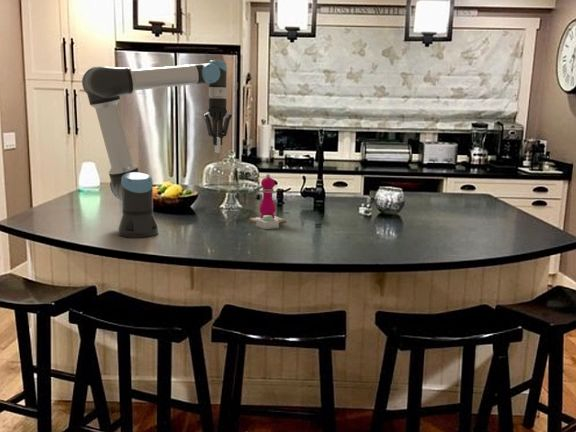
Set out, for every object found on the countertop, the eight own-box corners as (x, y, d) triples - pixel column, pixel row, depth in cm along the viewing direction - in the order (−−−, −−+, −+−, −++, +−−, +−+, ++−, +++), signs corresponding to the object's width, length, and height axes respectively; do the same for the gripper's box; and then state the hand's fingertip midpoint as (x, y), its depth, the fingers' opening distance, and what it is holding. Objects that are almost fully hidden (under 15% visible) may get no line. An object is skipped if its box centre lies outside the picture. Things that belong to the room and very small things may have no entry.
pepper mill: (276, 217, 258) (277, 173, 254) (274, 220, 251) (275, 175, 247) (260, 216, 259) (261, 172, 255) (258, 220, 252) (258, 174, 248)
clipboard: (260, 224, 248) (260, 222, 248) (249, 220, 256) (249, 217, 256) (285, 221, 255) (285, 219, 255) (274, 217, 263) (274, 215, 263)
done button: (265, 225, 242) (265, 217, 241) (261, 223, 245) (261, 215, 244) (273, 224, 244) (274, 216, 243) (269, 222, 247) (269, 214, 247)
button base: (264, 229, 240) (264, 222, 239) (256, 225, 246) (256, 218, 245) (278, 227, 244) (278, 220, 243) (270, 224, 250) (270, 217, 249)
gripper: (207, 97, 241) (207, 154, 246) (235, 98, 247) (234, 153, 252) (200, 97, 247) (200, 152, 252) (227, 97, 254) (227, 151, 259)
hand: (217, 152), depth 252 cm, fingers closed
